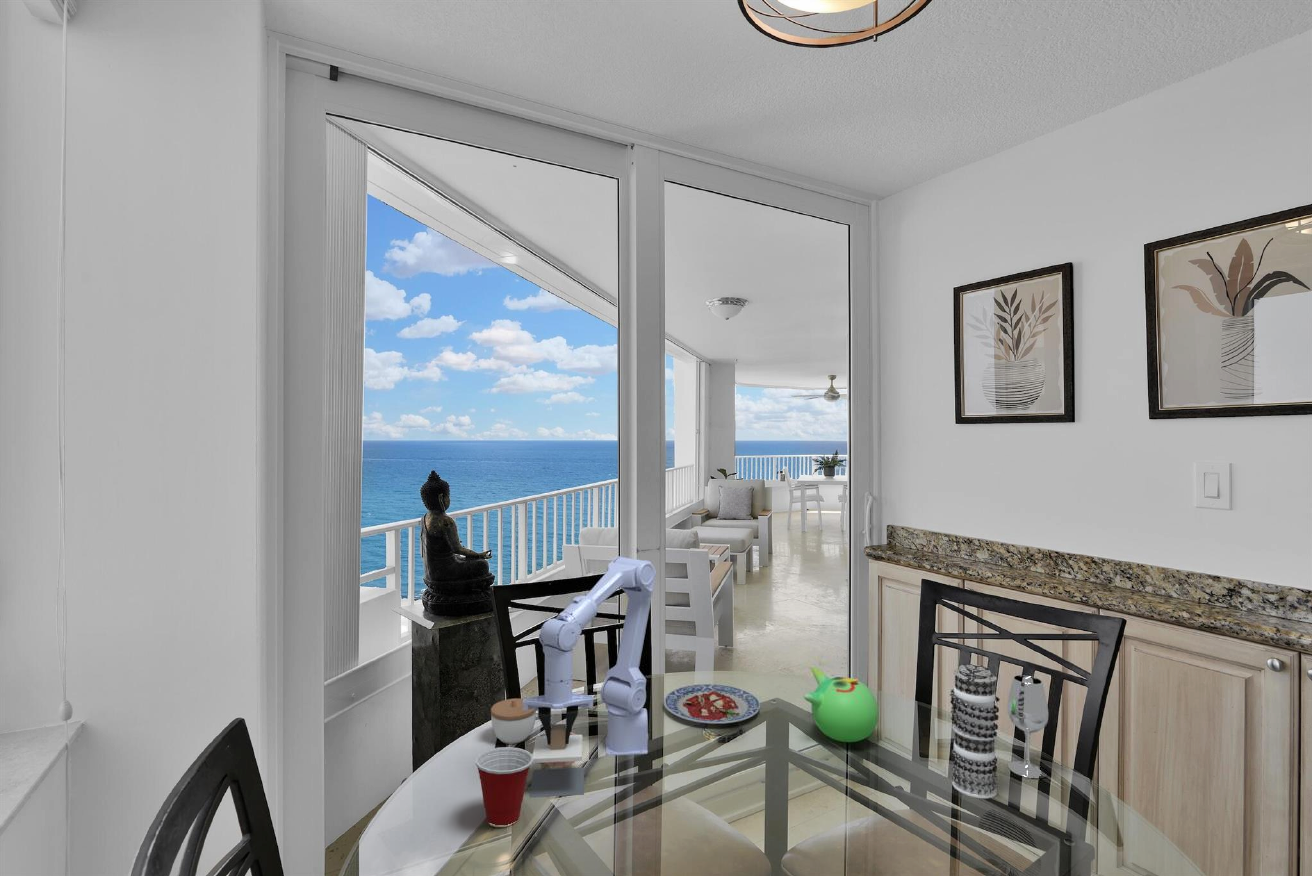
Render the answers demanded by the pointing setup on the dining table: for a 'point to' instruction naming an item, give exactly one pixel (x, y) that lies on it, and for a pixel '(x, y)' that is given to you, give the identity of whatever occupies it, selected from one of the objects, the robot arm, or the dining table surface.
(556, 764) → the bowl
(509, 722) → the lidded jar
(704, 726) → the dining table surface
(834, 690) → the toy bird
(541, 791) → the mat
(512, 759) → the plastic cup
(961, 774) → the decorative candle
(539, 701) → the robot arm
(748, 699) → the ceramic plate
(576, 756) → the lid
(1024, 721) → the wineglass
